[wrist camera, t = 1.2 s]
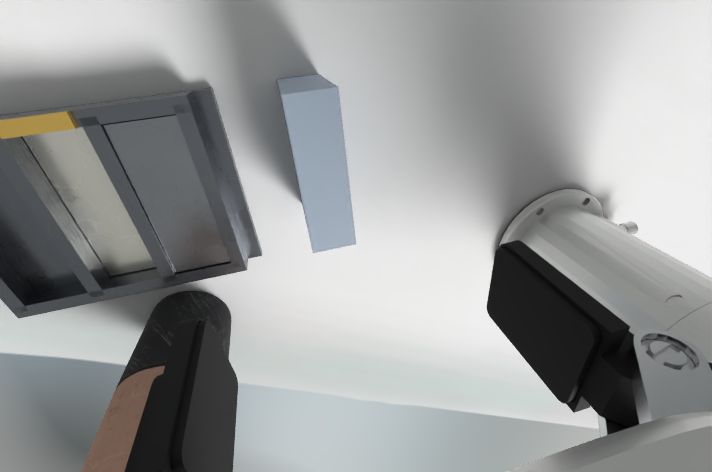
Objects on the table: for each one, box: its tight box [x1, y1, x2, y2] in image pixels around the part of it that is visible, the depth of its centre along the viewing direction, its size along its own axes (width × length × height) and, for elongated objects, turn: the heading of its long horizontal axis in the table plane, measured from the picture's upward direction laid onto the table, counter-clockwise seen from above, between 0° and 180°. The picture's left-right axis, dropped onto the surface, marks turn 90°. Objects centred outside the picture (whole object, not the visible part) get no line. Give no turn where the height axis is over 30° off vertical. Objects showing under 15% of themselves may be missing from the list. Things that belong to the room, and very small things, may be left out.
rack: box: [0, 88, 262, 318], centre depth 24 cm, size 20×14×3 cm
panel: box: [277, 74, 356, 253], centre depth 23 cm, size 3×10×8 cm, turn 5°
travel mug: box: [81, 291, 231, 472], centre depth 24 cm, size 8×8×20 cm
